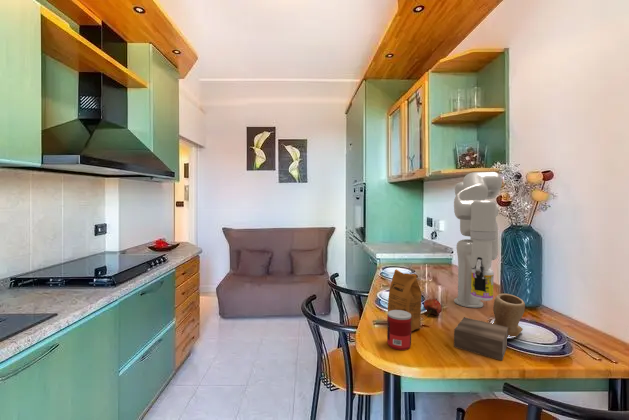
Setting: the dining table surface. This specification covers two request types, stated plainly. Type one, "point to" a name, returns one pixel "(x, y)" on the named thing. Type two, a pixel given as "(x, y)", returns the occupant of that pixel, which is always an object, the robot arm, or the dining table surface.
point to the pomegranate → (433, 306)
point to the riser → (481, 338)
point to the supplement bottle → (488, 293)
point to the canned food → (399, 329)
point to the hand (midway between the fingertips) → (482, 287)
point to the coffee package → (406, 296)
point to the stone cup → (509, 312)
